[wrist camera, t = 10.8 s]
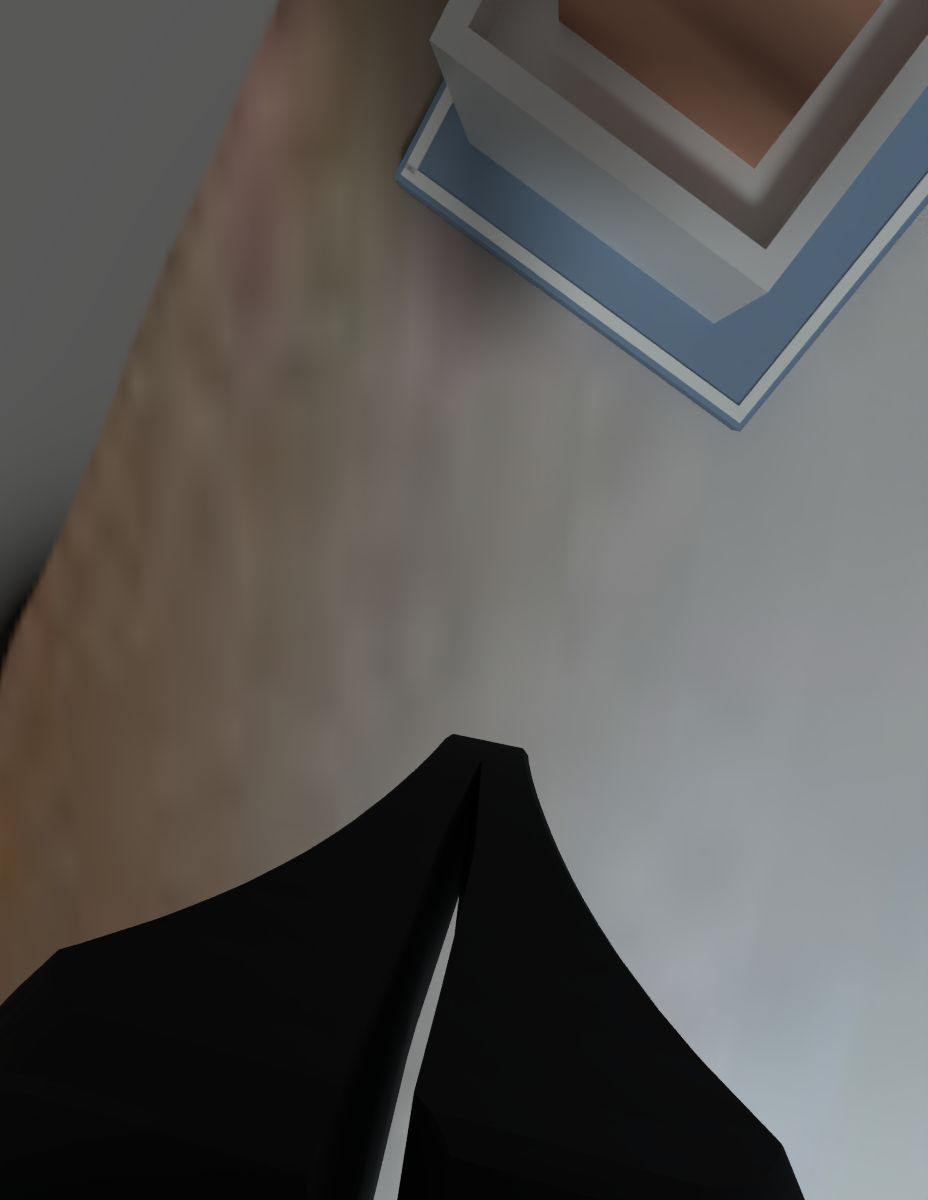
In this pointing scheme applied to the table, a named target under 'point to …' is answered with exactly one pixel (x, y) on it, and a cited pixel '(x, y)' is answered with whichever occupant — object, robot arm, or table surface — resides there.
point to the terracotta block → (725, 56)
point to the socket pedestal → (672, 144)
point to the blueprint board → (642, 305)
